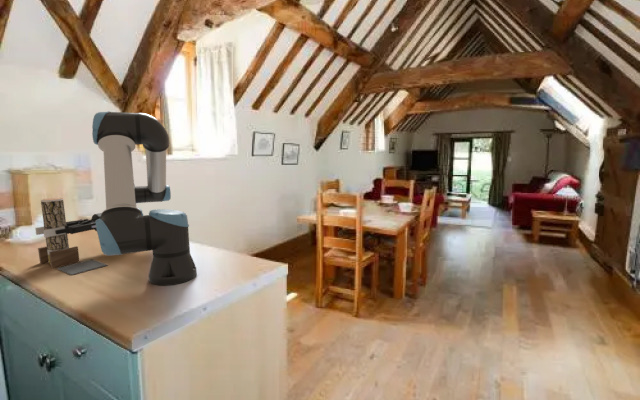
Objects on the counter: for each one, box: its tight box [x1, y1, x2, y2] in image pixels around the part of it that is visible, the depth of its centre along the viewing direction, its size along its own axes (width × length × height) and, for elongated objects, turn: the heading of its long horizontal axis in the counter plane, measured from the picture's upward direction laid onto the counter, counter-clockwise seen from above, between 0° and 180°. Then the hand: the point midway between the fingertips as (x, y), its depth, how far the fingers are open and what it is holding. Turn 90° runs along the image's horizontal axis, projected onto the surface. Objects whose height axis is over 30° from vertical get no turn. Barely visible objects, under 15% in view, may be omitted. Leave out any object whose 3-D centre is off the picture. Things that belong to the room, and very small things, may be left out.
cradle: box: [37, 245, 81, 269], centre depth 136 cm, size 11×9×6 cm
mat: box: [56, 259, 108, 276], centre depth 131 cm, size 12×12×1 cm
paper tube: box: [40, 197, 70, 265], centre depth 135 cm, size 7×7×25 cm
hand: (40, 232), depth 131 cm, fingers closed on paper tube, 7 cm apart
